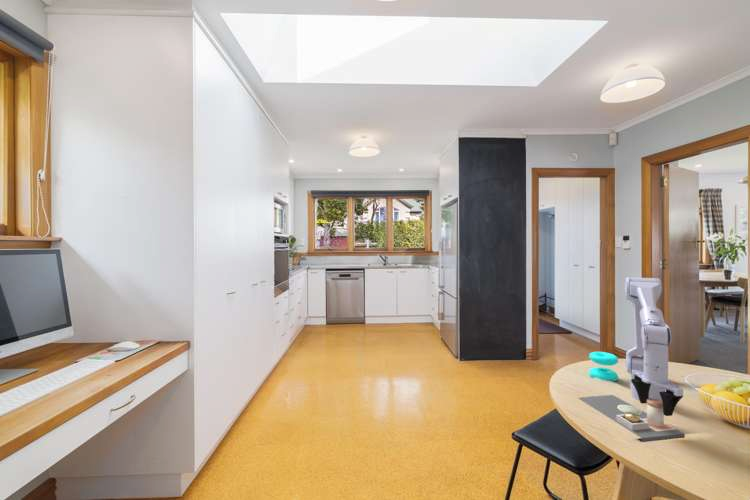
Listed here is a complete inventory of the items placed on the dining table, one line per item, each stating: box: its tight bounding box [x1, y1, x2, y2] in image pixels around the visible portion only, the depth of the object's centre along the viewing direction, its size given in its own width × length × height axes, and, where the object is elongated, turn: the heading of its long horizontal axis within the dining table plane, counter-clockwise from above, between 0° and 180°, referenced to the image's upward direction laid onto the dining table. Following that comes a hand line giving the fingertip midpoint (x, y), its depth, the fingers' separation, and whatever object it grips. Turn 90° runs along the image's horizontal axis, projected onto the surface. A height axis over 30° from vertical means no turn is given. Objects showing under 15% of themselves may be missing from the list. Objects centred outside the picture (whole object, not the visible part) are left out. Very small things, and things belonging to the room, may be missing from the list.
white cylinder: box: [646, 398, 665, 428], centre depth 102 cm, size 4×4×7 cm
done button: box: [625, 412, 640, 423], centre depth 102 cm, size 4×4×2 cm
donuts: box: [588, 351, 619, 383], centre depth 139 cm, size 10×10×10 cm
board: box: [578, 394, 686, 443], centre depth 108 cm, size 14×25×3 cm, turn 7°
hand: (655, 408), depth 102 cm, fingers open, 7 cm apart
